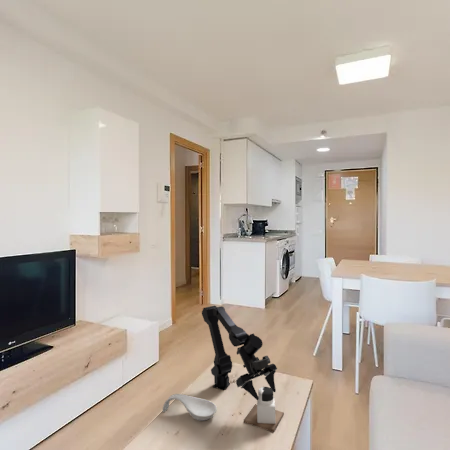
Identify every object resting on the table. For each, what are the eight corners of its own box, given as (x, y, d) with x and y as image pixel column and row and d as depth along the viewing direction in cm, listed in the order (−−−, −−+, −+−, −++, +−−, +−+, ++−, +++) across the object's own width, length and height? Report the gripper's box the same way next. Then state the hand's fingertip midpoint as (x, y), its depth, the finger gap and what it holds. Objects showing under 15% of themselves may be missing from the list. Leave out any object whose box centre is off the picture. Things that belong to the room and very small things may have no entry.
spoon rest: (220, 410, 138) (219, 394, 138) (211, 427, 126) (211, 410, 126) (170, 402, 144) (169, 387, 144) (157, 418, 133) (157, 401, 133)
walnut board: (243, 422, 129) (243, 419, 129) (255, 406, 140) (255, 404, 140) (274, 432, 123) (274, 429, 123) (283, 414, 133) (283, 412, 133)
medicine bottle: (274, 413, 133) (274, 384, 133) (275, 424, 126) (275, 394, 126) (257, 412, 134) (256, 384, 133) (257, 423, 127) (256, 393, 126)
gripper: (239, 356, 128) (258, 396, 119) (273, 345, 138) (293, 380, 130) (228, 368, 135) (245, 406, 126) (262, 356, 145) (279, 391, 136)
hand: (266, 395), depth 129 cm, fingers open, 9 cm apart
